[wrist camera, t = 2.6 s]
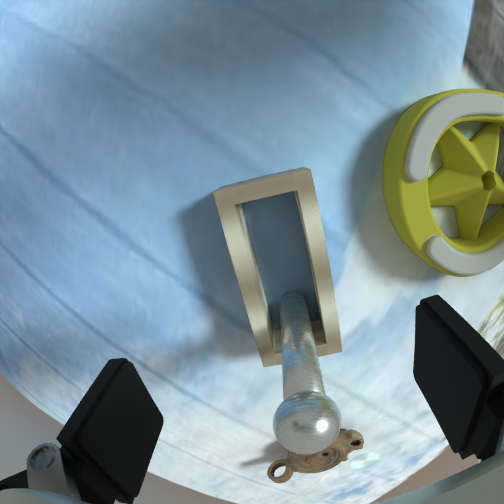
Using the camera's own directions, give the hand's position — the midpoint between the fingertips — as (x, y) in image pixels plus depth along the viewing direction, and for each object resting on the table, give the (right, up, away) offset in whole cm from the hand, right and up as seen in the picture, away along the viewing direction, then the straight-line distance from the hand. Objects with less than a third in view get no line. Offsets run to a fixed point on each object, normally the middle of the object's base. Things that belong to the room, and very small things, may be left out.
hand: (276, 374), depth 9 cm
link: (+2, +3, +17) cm, 18 cm away
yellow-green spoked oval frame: (+20, +11, +14) cm, 27 cm away
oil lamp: (+7, -21, +25) cm, 34 cm away
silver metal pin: (+3, -1, +18) cm, 19 cm away
